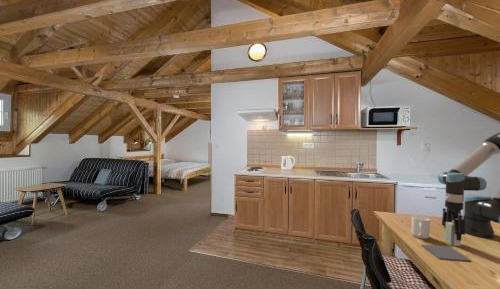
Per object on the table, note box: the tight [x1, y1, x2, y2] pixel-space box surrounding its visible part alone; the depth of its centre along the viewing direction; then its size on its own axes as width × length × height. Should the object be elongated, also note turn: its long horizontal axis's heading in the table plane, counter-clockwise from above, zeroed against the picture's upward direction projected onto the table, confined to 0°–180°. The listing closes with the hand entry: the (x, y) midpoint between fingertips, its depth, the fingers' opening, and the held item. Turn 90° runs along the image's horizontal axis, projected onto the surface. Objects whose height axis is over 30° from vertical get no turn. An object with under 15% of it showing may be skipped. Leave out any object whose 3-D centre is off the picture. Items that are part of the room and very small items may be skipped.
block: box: [444, 221, 456, 246], centre depth 128 cm, size 4×4×11 cm
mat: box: [420, 244, 472, 262], centre depth 117 cm, size 14×14×1 cm
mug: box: [410, 215, 431, 240], centre depth 136 cm, size 9×12×11 cm
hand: (452, 242), depth 128 cm, fingers open, 6 cm apart
